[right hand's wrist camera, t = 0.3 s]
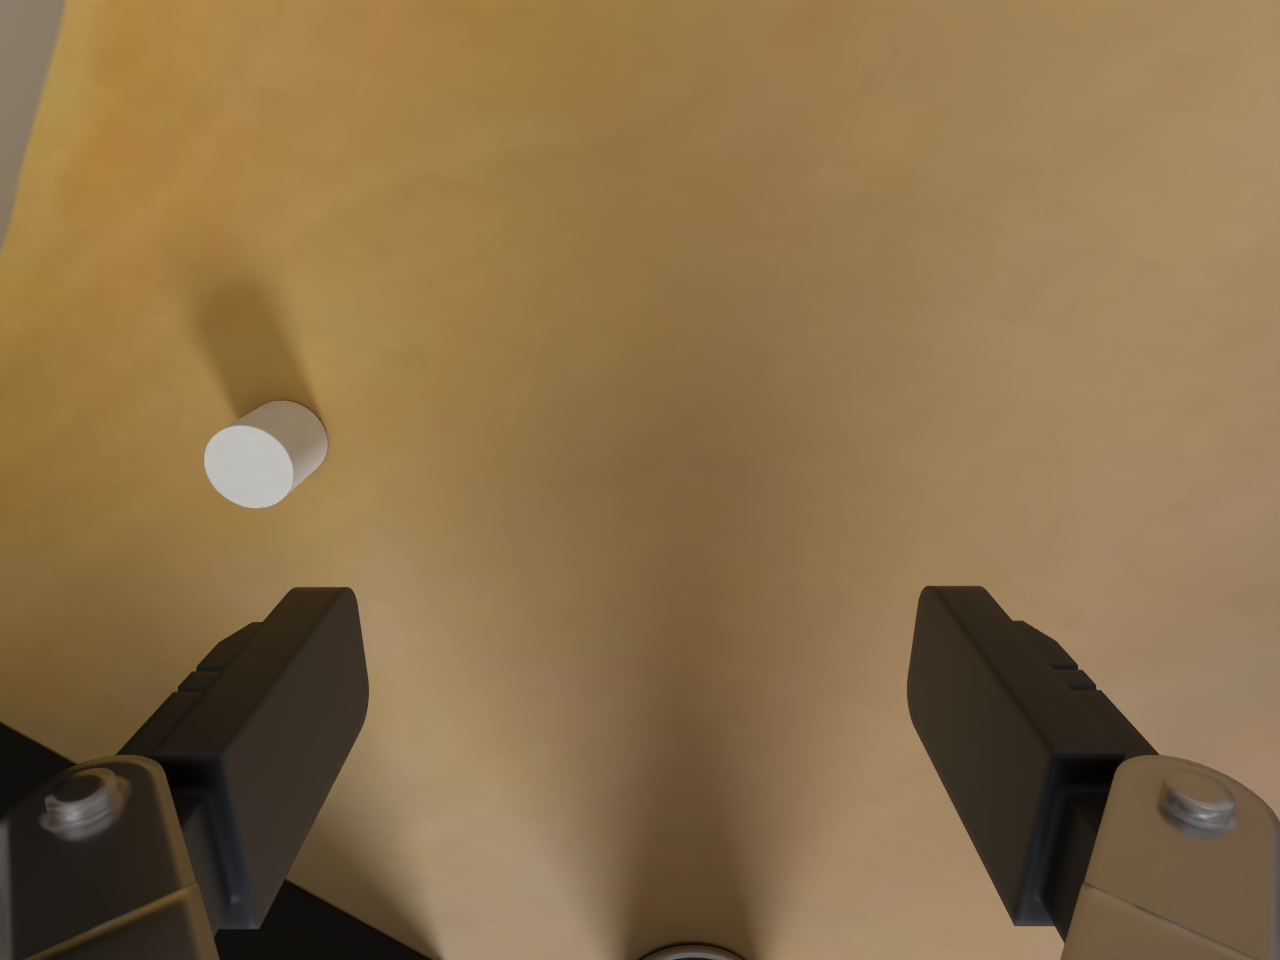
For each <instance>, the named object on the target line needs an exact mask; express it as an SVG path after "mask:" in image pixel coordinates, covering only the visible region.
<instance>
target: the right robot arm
mask: <svg viewBox="0 0 1280 960" xmlns="http://www.w3.org/2000/svg"><path fill="white" fill-rule="evenodd" d="M907 698H908V707H909V712H910V716H911V720H912V723H913V725H914V727H915V729H916V731H917V733H918V735H919V737H920V739H921V741H922V743H923V745H924V747H925V749H926V751H927V753H928V755H929V757H930V759H931V761H932V763H933V765H934V767H935V769H936V771H937V773H938V775H939V777H940V779H941V781H942V783H943V785H944V787H945V789H946V791H947V793H948V795H949V797H950V799H951V801H952V803H953V805H954V807H955V809H956V811H957V813H958V815H959V817H960V819H961V821H962V823H963V825H964V827H965V829H966V830H967V832H968V834H969V836H970V838H971V840H972V842H973V844H974V846H975V848H976V850H977V852H978V854H979V856H980V858H981V860H982V862H983V864H984V866H985V868H986V870H987V872H988V874H989V876H990V878H991V880H992V882H993V884H994V886H995V888H996V890H997V892H998V894H999V896H1000V898H1001V900H1002V902H1003V904H1004V906H1005V908H1006V910H1007V912H1008V914H1009V916H1010V918H1011V920H1012V922H1013V924H1014V926H1055V927H1056V929H1057V931H1058V932H1059V934H1060V936H1061V938H1062V940H1063V941H1064V943H1065V945H1064V949H1063V952H1062V956H1061V959H1060V960H1280V821H1279V819H1278V817H1277V816H1276V815H1275V813H1274V812H1273V810H1272V809H1271V808H1270V807H1269V806H1268V805H1267V804H1266V803H1265V802H1264V801H1263V800H1262V799H1261V798H1260V797H1259V796H1257V795H1256V794H1255V793H1254V792H1253V791H1251V790H1250V789H1248V788H1247V787H1245V786H1244V785H1243V784H1241V783H1239V782H1238V781H1236V780H1234V779H1232V778H1231V777H1229V776H1227V775H1225V774H1223V773H1221V772H1219V771H1217V770H1215V769H1212V768H1209V767H1207V766H1204V765H1202V764H1199V763H1196V762H1192V761H1189V760H1185V759H1181V758H1176V757H1170V756H1163V755H1159V754H1158V753H1157V752H1156V750H1155V749H1154V748H1153V747H1152V746H1151V745H1150V744H1149V743H1148V742H1147V741H1146V739H1145V738H1144V737H1143V736H1142V735H1141V734H1140V733H1139V732H1138V731H1137V730H1136V728H1135V727H1134V726H1133V725H1132V724H1131V723H1130V722H1129V721H1128V720H1127V719H1126V717H1125V716H1124V715H1123V714H1122V713H1121V712H1120V711H1119V710H1118V709H1117V708H1116V706H1115V705H1114V704H1113V703H1112V702H1111V701H1110V700H1109V699H1108V698H1107V697H1106V695H1105V694H1104V693H1103V692H1102V691H1101V690H1097V689H1096V684H1095V683H1094V682H1093V681H1092V680H1091V679H1090V678H1089V677H1088V676H1087V675H1086V673H1085V672H1084V671H1083V670H1078V665H1077V664H1076V662H1075V661H1074V660H1073V659H1072V658H1071V657H1070V656H1069V655H1068V654H1067V653H1066V651H1065V650H1064V649H1063V648H1062V647H1061V646H1060V645H1059V644H1058V643H1057V642H1056V641H1055V640H1053V639H1052V638H1050V637H1048V636H1047V635H1045V634H1044V633H1042V632H1040V631H1039V630H1037V629H1035V628H1034V627H1032V626H1030V625H1029V624H1027V623H1025V622H1024V621H1012V620H1011V619H1010V617H1009V616H1008V615H1007V614H1006V613H1005V612H1004V610H1003V609H1002V608H1001V607H1000V606H999V605H998V603H997V602H996V601H995V600H994V599H993V597H992V596H991V595H990V594H989V593H988V592H987V590H986V589H984V588H983V587H981V586H926V587H925V588H924V589H923V590H922V592H921V594H920V598H919V602H918V608H917V615H916V622H915V630H914V637H913V644H912V651H911V658H910V665H909V672H908V680H907ZM368 699H369V683H368V675H367V668H366V661H365V653H364V646H363V639H362V632H361V625H360V618H359V611H358V605H357V600H356V596H355V594H354V592H353V591H352V589H350V588H348V587H295V588H293V589H291V590H290V591H289V592H288V593H287V594H286V596H285V597H284V598H283V599H282V600H281V601H280V603H279V604H278V605H277V606H276V607H275V608H274V609H273V611H272V612H271V613H270V614H269V615H268V616H267V618H266V619H265V620H264V621H263V622H252V623H250V624H249V625H247V626H245V627H244V628H242V629H240V630H239V631H237V632H236V633H234V634H232V635H231V636H229V637H227V638H226V639H224V640H222V641H221V642H219V643H218V644H217V645H216V646H215V647H214V648H213V649H212V650H211V652H210V653H209V654H208V655H207V656H206V657H205V658H204V659H203V660H202V661H201V662H200V664H199V665H198V666H197V670H196V672H191V673H190V674H189V676H188V677H187V678H186V679H185V680H184V681H183V682H182V683H181V684H180V685H179V686H178V692H173V693H172V694H171V695H170V696H169V697H168V698H167V700H166V701H165V702H164V703H163V704H162V705H161V706H160V707H159V708H158V709H157V710H156V712H155V713H154V714H153V715H152V716H151V717H150V718H149V719H148V720H147V721H146V722H145V724H144V725H143V726H142V727H141V728H140V729H139V730H138V731H137V732H136V733H135V734H134V736H133V737H132V738H131V739H130V740H129V741H128V742H127V743H126V744H125V745H124V746H123V747H122V749H121V750H120V751H119V752H118V753H117V754H116V755H115V756H110V757H104V758H99V759H95V760H91V761H88V762H84V763H81V764H78V765H76V766H73V767H71V768H68V769H65V770H63V771H61V772H59V773H57V774H55V775H53V776H51V777H49V778H48V779H46V780H44V781H42V782H41V783H39V784H37V785H36V786H35V787H33V788H32V789H30V790H29V791H27V792H26V793H25V794H24V795H23V796H21V797H20V798H19V799H18V800H17V801H16V802H15V803H14V804H13V805H12V806H11V807H10V808H9V809H8V810H7V812H6V813H5V815H4V816H3V817H2V819H1V821H0V960H220V959H219V956H218V952H217V949H216V945H215V942H214V936H215V934H216V933H217V931H218V929H259V928H260V926H261V924H262V922H263V921H264V919H265V917H266V915H267V913H268V911H269V909H270V907H271V905H272V903H273V901H274V899H275V897H276V895H277V893H278V891H279V889H280V887H281V885H282V883H283V881H284V879H285V877H286V875H287V874H288V872H289V870H290V868H291V866H292V864H293V862H294V860H295V858H296V856H297V854H298V852H299V850H300V848H301V846H302V844H303V842H304V840H305V838H306V836H307V834H308V832H309V830H310V829H311V827H312V825H313V823H314V821H315V819H316V817H317V815H318V813H319V811H320V809H321V807H322V805H323V803H324V801H325V799H326V797H327V795H328V793H329V791H330V789H331V787H332V785H333V783H334V782H335V780H336V778H337V776H338V774H339V772H340V770H341V768H342V766H343V764H344V762H345V760H346V758H347V756H348V754H349V752H350V750H351V748H352V746H353V744H354V742H355V740H356V738H357V736H358V735H359V733H360V731H361V729H362V726H363V724H364V721H365V717H366V713H367V707H368ZM643 960H742V959H741V958H739V957H738V956H736V955H734V954H732V953H730V952H727V951H725V950H722V949H719V948H715V947H710V946H702V945H684V946H676V947H671V948H667V949H664V950H661V951H658V952H655V953H653V954H651V955H649V956H648V957H646V958H644V959H643Z"/></svg>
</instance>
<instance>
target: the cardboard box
mask: <svg viewBox="0 0 1280 960" xmlns="http://www.w3.org/2000/svg"><path fill="white" fill-rule="evenodd" d="M71 767H73V765H72V764H70V763H68V762H66V761H64V760H62V759H61V758H59V757H57V756H55V755H53V754H52V753H50V752H48V751H46V750H44V749H42V748H41V747H39V746H37V745H35V744H33V743H32V742H30V741H28V740H26V739H24V738H22V737H21V736H19V735H17V734H15V733H13V732H12V731H10V730H8V729H6V728H4V727H2V726H1V725H0V821H1V819H2V817H3V816H4V815H5V813H6V812H7V810H8V809H9V808H10V807H11V806H12V805H13V804H14V803H15V802H16V801H17V800H18V799H19V798H20V797H21V796H23V795H24V794H25V793H26V792H27V791H29V790H30V789H32V788H33V787H35V786H36V785H37V784H39V783H41V782H42V781H44V780H46V779H48V778H49V777H51V776H53V775H55V774H57V773H59V772H61V771H63V770H65V769H68V768H71ZM214 942H215V945H216V949H217V952H218V956H219V959H220V960H426V959H424V958H422V957H421V956H419V955H417V954H415V953H413V952H412V951H410V950H408V949H406V948H404V947H402V946H401V945H399V944H397V943H395V942H393V941H392V940H390V939H388V938H386V937H384V936H382V935H381V934H379V933H377V932H375V931H373V930H372V929H370V928H368V927H366V926H364V925H362V924H361V923H359V922H357V921H355V920H353V919H352V918H350V917H348V916H346V915H344V914H342V913H341V912H339V911H337V910H335V909H333V908H332V907H330V906H328V905H326V904H324V903H322V902H321V901H319V900H317V899H315V898H313V897H312V896H310V895H308V894H306V893H304V892H302V891H301V890H299V889H297V888H295V887H293V886H292V885H290V884H288V883H286V882H284V881H283V883H282V885H281V887H280V889H279V891H278V893H277V895H276V897H275V899H274V901H273V903H272V905H271V907H270V909H269V911H268V913H267V915H266V917H265V919H264V921H263V922H262V924H261V926H260V928H259V929H218V931H217V933H216V934H215V936H214Z"/></svg>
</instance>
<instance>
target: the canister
mask: <svg viewBox="0 0 1280 960" xmlns="http://www.w3.org/2000/svg"><path fill="white" fill-rule="evenodd" d="M327 448H328V441H327V435H326V432H325V429H324V427H323V425H322V423H321V422H320V420H319V419H318V418H317V417H316V415H315V414H314V413H312V412H311V411H310V410H309V409H307V408H306V407H304V406H302V405H300V404H298V403H295V402H291V401H284V400H279V401H272V402H269V403H266V404H264V405H262V406H260V407H259V408H257V409H255V410H254V411H252V412H250V413H249V414H247V415H245V416H244V417H242V418H240V419H238V420H237V421H235V422H233V423H232V424H230V425H228V426H227V427H225V428H223V429H222V430H220V431H218V432H217V433H216V434H215V435H214V436H213V437H212V438H211V439H210V441H209V442H208V444H207V446H206V449H205V454H204V466H205V470H206V474H207V476H208V478H209V480H210V482H211V483H212V485H213V486H214V487H215V489H216V490H217V491H218V492H219V493H220V494H221V495H222V496H224V497H225V498H227V499H228V500H230V501H232V502H233V503H236V504H238V505H241V506H245V507H250V508H262V507H268V506H271V505H273V504H275V503H277V502H279V501H280V500H282V499H283V498H284V497H285V496H286V495H287V494H288V493H289V492H291V491H292V490H293V489H294V488H295V487H296V486H297V485H299V484H300V483H301V482H302V481H303V480H304V479H305V478H306V477H308V476H309V475H310V474H311V473H312V472H313V471H314V470H315V469H317V468H318V467H319V466H320V465H321V463H322V462H323V460H324V458H325V456H326V453H327Z"/></svg>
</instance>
